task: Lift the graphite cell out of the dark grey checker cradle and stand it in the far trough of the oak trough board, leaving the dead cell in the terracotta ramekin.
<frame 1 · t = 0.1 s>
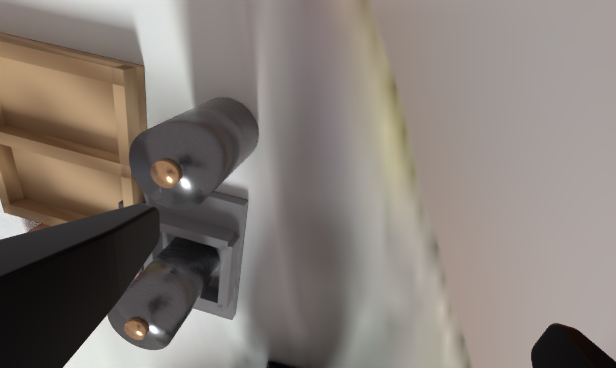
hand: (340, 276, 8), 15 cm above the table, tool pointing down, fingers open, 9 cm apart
checker cradle: (184, 246, 28), on the table
trough board: (76, 143, 26), on the table
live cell: (194, 256, 27), point 1 cm above the table, touching checker cradle
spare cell: (227, 130, 23), on the table
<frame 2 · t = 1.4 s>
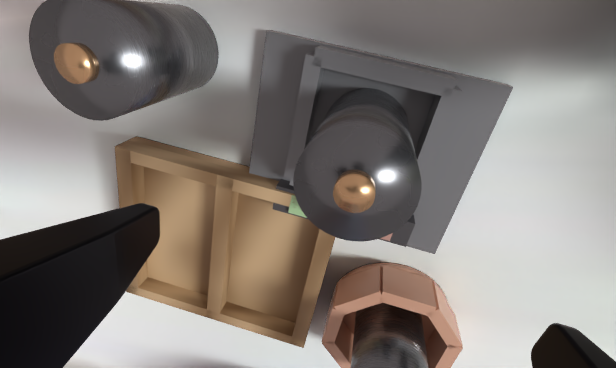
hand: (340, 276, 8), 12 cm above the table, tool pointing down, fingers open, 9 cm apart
checker cradle: (359, 147, 19), on the table
dead cell: (388, 315, 23), point 1 cm above the table, touching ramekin
trough board: (230, 239, 24), on the table
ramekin: (388, 308, 24), on the table
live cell: (365, 130, 18), point 1 cm above the table, touching checker cradle
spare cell: (181, 49, 19), on the table
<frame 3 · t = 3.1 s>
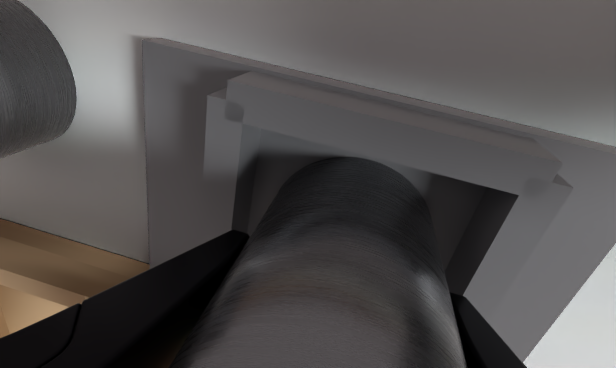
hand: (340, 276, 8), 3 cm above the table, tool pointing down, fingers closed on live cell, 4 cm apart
checker cradle: (340, 251, 11), on the table
trough board: (144, 361, 15), on the table
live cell: (347, 232, 9), point 1 cm above the table, touching checker cradle, gripper
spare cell: (10, 72, 10), on the table
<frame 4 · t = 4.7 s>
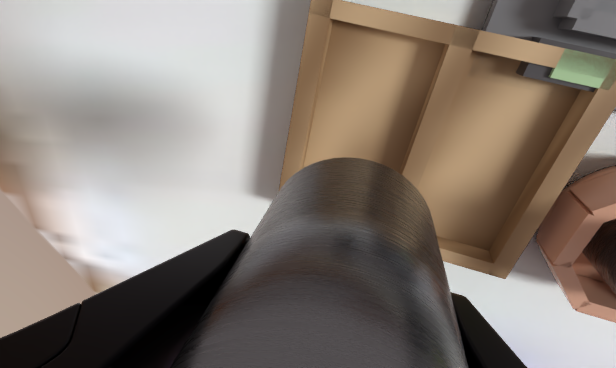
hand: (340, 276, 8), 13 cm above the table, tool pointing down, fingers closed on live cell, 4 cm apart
trough board: (417, 141, 19), on the table
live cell: (348, 233, 9), point 11 cm above the table, touching gripper
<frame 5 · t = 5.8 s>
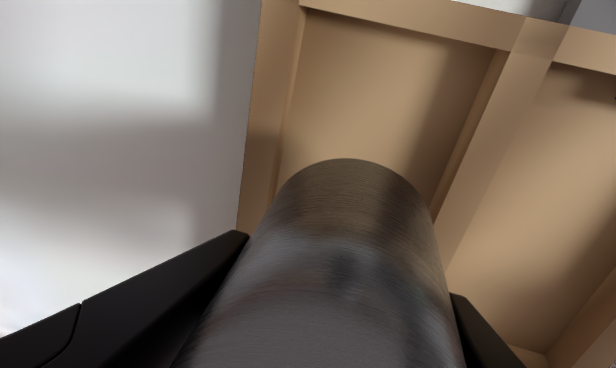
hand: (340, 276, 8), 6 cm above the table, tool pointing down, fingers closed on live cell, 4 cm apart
trough board: (440, 197, 12), on the table
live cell: (347, 233, 9), point 4 cm above the table, touching gripper
when the fingers open (4 cm above the table, at t = 6.5 s): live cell stays where it is, resting on trough board.
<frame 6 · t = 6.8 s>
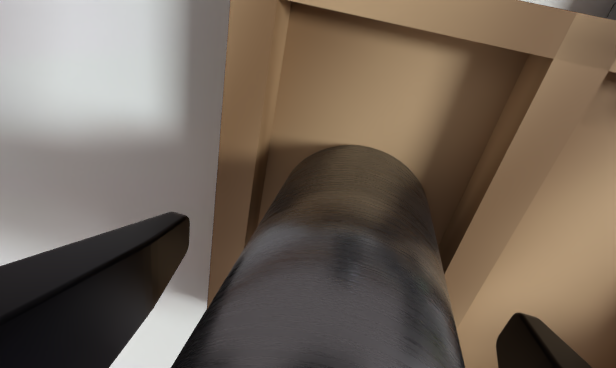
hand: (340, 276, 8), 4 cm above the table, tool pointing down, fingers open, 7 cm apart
trough board: (453, 229, 11), on the table
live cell: (351, 214, 10), point 1 cm above the table, touching trough board
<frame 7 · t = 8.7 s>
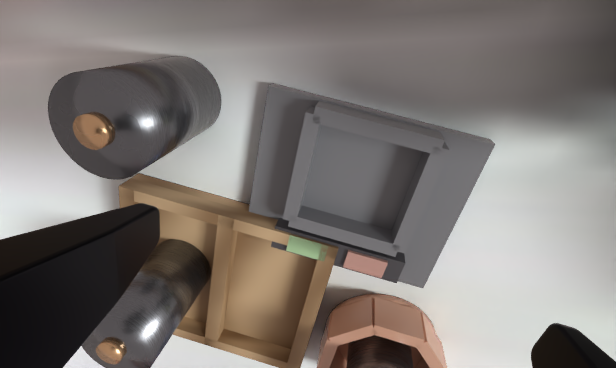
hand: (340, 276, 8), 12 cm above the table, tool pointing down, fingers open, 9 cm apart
checker cradle: (353, 190, 20), on the table
dead cell: (379, 342, 25), point 1 cm above the table, touching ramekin
trough board: (228, 270, 25), on the table
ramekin: (378, 335, 25), on the table
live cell: (181, 264, 24), point 1 cm above the table, touching trough board
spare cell: (185, 96, 20), on the table
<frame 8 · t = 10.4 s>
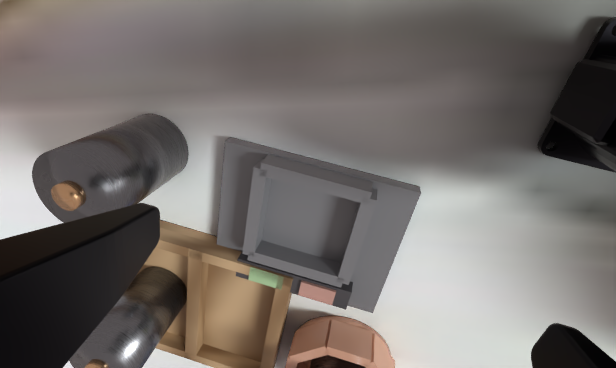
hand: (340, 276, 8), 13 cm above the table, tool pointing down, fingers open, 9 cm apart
checker cradle: (307, 227, 23), on the table
dead cell: (339, 359, 27), point 1 cm above the table, touching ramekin
trough board: (204, 292, 28), on the table
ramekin: (340, 352, 28), on the table
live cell: (162, 288, 27), point 1 cm above the table, touching trough board
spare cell: (158, 146, 23), on the table
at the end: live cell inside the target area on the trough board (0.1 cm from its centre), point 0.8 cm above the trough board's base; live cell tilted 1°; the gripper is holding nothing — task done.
